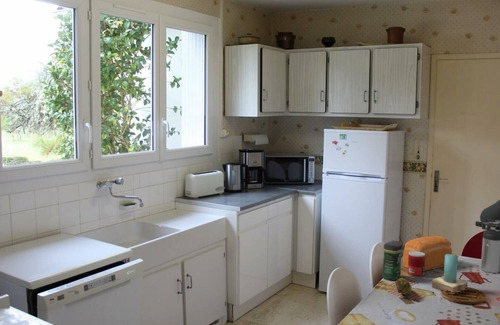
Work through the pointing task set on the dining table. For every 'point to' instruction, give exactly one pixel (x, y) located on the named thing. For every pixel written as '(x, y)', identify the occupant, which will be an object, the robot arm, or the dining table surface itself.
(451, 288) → the plinth
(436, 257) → the bread
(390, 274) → the coffee jar
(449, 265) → the pillar
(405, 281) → the potato
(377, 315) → the dining table surface
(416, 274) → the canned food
